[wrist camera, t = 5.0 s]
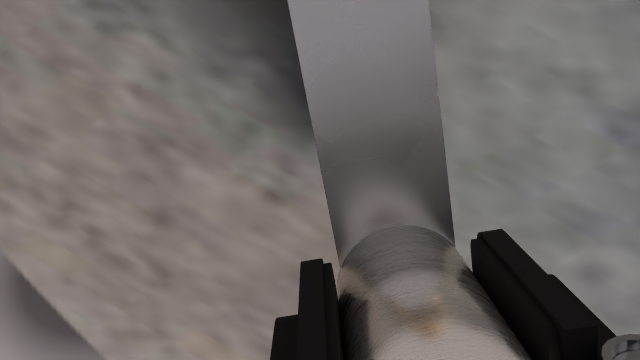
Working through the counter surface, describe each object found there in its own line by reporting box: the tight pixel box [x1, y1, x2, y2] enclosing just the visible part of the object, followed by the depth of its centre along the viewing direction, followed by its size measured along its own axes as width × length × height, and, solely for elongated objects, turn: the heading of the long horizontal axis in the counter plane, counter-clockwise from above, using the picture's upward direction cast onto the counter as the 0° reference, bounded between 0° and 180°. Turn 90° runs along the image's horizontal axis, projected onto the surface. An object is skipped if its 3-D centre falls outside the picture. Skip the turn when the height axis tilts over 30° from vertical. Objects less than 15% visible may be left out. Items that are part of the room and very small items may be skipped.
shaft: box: [288, 0, 532, 360], centre depth 8 cm, size 3×17×9 cm, turn 11°
